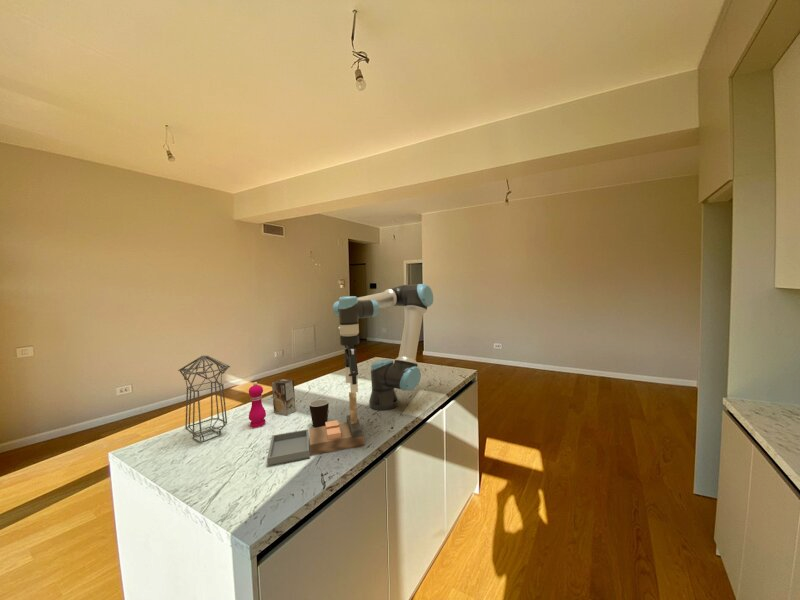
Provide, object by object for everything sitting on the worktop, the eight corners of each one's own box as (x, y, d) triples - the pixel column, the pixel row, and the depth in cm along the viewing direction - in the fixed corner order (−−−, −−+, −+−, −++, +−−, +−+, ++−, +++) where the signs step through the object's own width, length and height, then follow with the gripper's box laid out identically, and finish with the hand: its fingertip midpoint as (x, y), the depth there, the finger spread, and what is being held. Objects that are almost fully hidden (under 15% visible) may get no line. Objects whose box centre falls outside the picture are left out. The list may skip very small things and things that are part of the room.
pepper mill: (269, 422, 143) (267, 380, 142) (258, 429, 136) (255, 384, 135) (257, 420, 145) (255, 379, 145) (245, 427, 138) (242, 384, 138)
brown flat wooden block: (357, 429, 131) (357, 420, 131) (364, 444, 118) (363, 434, 118) (309, 438, 125) (309, 428, 125) (310, 455, 112) (309, 444, 112)
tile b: (339, 432, 121) (339, 427, 121) (341, 437, 116) (340, 432, 116) (326, 434, 120) (326, 429, 120) (327, 440, 115) (327, 435, 115)
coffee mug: (324, 429, 133) (323, 406, 133) (306, 428, 135) (305, 406, 134) (335, 418, 144) (334, 397, 144) (318, 417, 146) (317, 396, 146)
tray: (308, 436, 127) (308, 429, 127) (309, 458, 110) (309, 450, 110) (272, 442, 123) (272, 435, 123) (267, 466, 106) (267, 458, 106)
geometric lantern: (179, 439, 130) (175, 357, 130) (219, 426, 142) (216, 351, 142) (193, 449, 120) (189, 360, 120) (235, 434, 133) (231, 353, 133)
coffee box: (296, 410, 156) (294, 379, 155) (287, 415, 150) (285, 383, 149) (282, 408, 159) (280, 378, 159) (273, 413, 153) (271, 382, 153)
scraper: (355, 419, 132) (354, 386, 132) (362, 436, 117) (360, 398, 116) (346, 421, 131) (345, 387, 130) (352, 438, 116) (350, 400, 115)
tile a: (337, 424, 128) (337, 420, 128) (339, 429, 123) (338, 425, 123) (325, 426, 126) (325, 422, 126) (326, 432, 122) (326, 427, 122)
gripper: (336, 331, 133) (338, 380, 134) (343, 339, 109) (346, 398, 110) (353, 330, 136) (355, 377, 136) (364, 338, 112) (366, 395, 112)
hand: (351, 387), depth 123 cm, fingers open, 13 cm apart
